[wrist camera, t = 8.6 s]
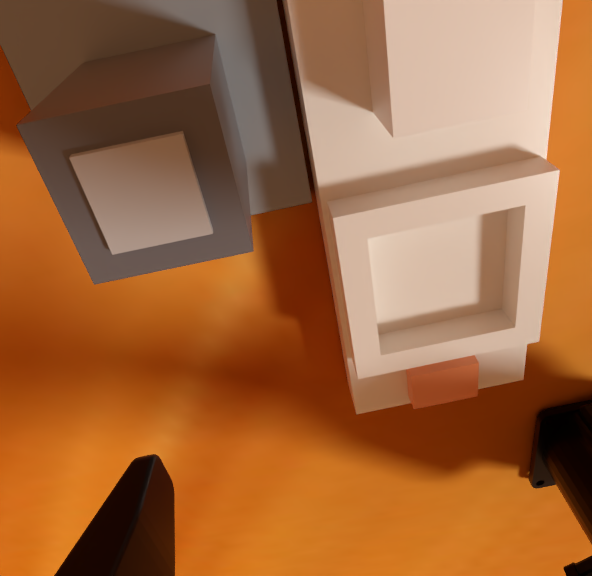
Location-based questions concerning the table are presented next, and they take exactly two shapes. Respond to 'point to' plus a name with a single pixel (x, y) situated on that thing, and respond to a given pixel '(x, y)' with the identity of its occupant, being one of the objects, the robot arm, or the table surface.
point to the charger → (145, 160)
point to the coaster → (166, 30)
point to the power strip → (430, 185)
